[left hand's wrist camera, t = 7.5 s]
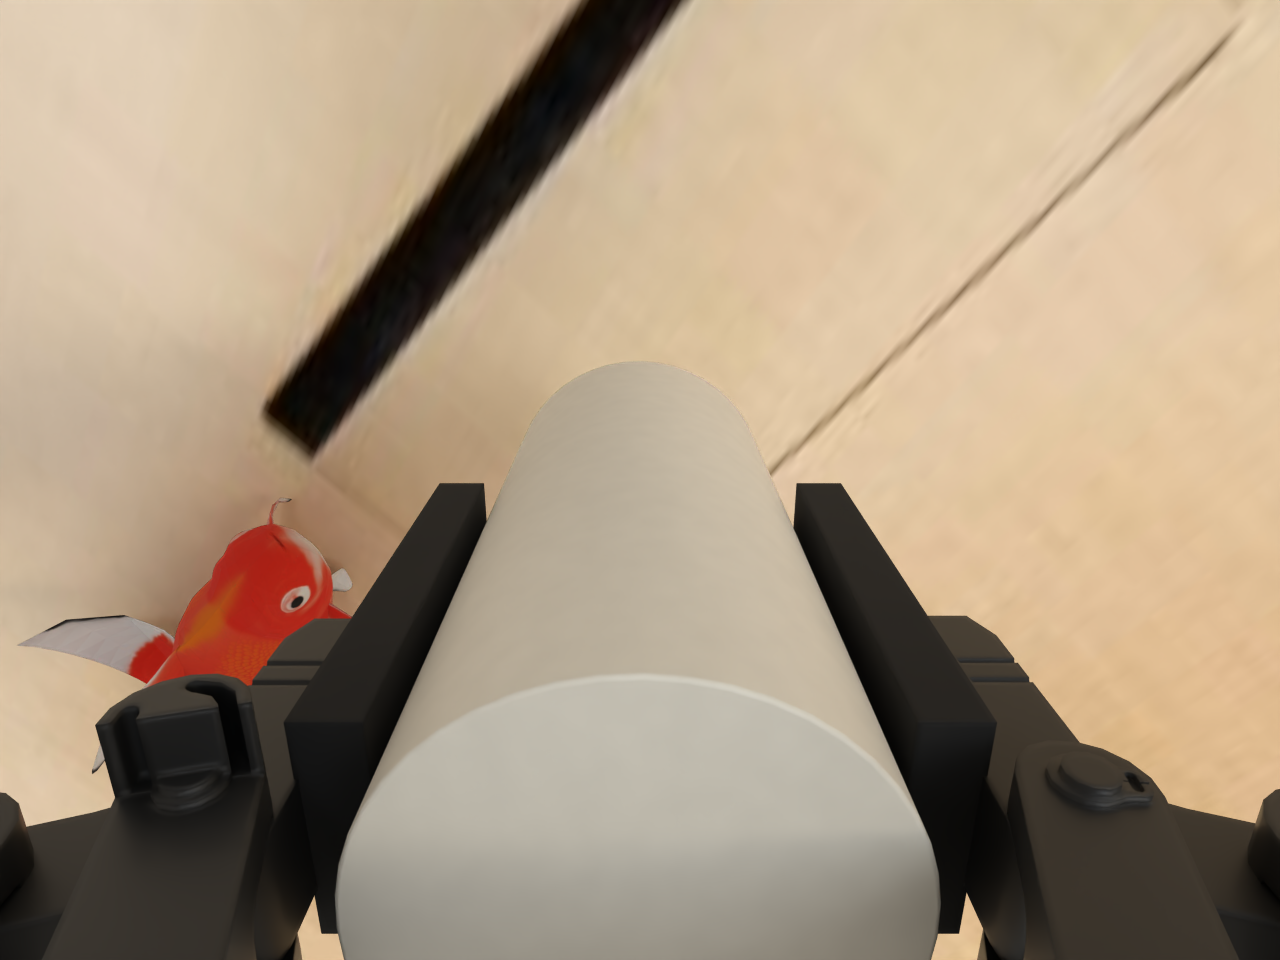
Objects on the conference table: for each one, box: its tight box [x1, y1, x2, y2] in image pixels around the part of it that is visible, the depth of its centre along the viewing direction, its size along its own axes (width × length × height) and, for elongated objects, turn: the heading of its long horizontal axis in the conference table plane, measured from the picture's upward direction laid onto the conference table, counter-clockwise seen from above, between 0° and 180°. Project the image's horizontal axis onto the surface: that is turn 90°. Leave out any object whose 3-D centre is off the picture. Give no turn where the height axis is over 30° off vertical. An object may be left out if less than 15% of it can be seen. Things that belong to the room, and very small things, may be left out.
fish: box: [17, 498, 353, 774], centre depth 30 cm, size 11×16×10 cm
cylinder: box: [335, 361, 941, 960], centre depth 13 cm, size 5×5×12 cm
